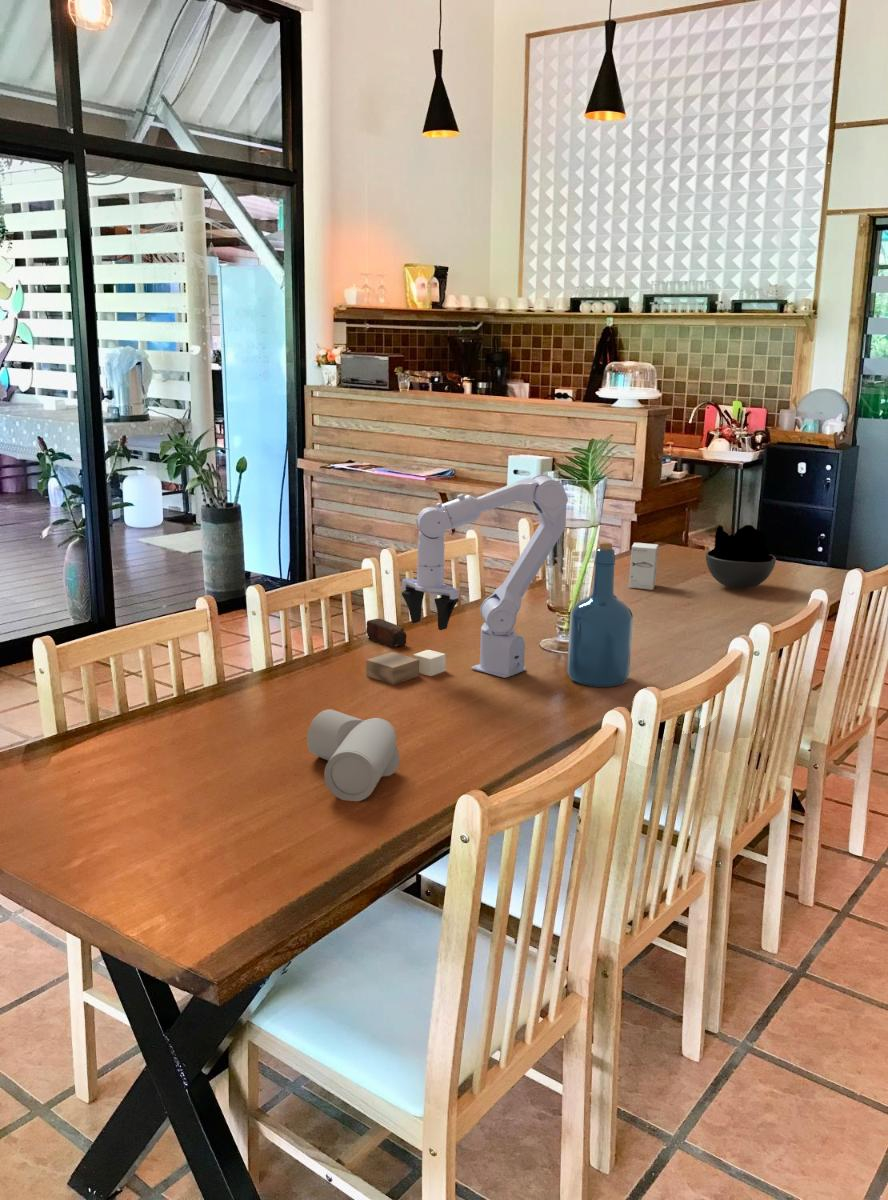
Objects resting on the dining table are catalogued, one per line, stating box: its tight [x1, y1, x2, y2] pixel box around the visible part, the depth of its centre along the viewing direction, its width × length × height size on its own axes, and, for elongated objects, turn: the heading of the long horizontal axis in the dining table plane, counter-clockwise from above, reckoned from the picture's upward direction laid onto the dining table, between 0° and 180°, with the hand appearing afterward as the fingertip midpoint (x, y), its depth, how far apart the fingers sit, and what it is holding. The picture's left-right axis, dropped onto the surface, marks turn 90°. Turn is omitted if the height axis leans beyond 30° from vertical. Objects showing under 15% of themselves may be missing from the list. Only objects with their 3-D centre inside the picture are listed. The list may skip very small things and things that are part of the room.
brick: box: [365, 618, 407, 649], centre depth 247 cm, size 11×4×5 cm, turn 42°
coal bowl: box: [705, 524, 777, 590], centre depth 305 cm, size 20×20×19 cm
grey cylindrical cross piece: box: [306, 708, 401, 802], centre depth 171 cm, size 18×11×20 cm
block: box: [412, 649, 447, 677], centre depth 226 cm, size 5×5×4 cm
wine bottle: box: [566, 541, 634, 688], centre depth 220 cm, size 14×13×30 cm
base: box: [365, 651, 420, 686], centre depth 222 cm, size 8×8×4 cm
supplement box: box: [628, 542, 659, 591], centre depth 306 cm, size 7×7×13 cm
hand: (429, 625), depth 224 cm, fingers open, 7 cm apart
